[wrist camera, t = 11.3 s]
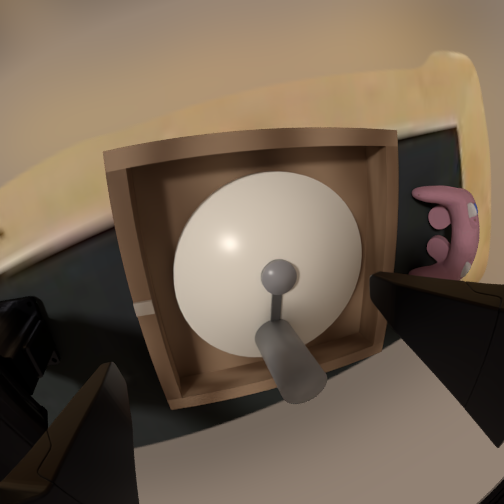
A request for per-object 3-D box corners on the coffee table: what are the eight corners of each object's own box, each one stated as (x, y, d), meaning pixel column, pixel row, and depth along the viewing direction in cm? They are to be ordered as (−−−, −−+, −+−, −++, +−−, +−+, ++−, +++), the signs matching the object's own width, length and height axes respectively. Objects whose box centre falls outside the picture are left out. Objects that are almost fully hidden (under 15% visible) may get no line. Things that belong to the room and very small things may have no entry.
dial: (167, 172, 18) (166, 183, 11) (360, 174, 21) (429, 188, 15) (183, 358, 22) (193, 427, 16) (340, 333, 26) (385, 381, 19)
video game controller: (418, 266, 30) (473, 279, 25) (405, 283, 27) (466, 299, 22) (421, 179, 27) (483, 187, 21) (408, 186, 24) (480, 194, 19)
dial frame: (168, 382, 24) (171, 411, 21) (114, 152, 17) (102, 151, 14) (362, 333, 28) (382, 352, 25) (369, 131, 22) (398, 130, 18)
